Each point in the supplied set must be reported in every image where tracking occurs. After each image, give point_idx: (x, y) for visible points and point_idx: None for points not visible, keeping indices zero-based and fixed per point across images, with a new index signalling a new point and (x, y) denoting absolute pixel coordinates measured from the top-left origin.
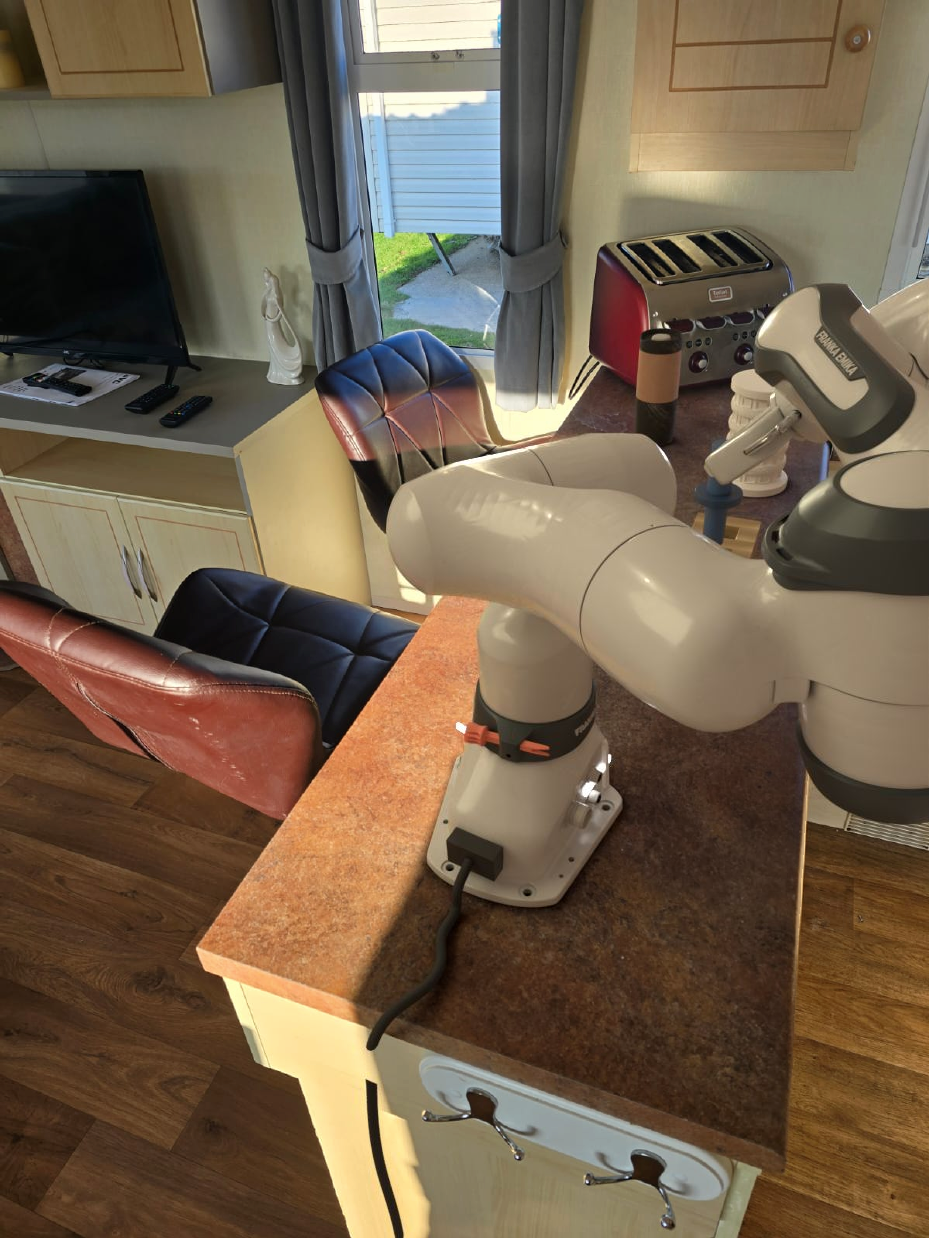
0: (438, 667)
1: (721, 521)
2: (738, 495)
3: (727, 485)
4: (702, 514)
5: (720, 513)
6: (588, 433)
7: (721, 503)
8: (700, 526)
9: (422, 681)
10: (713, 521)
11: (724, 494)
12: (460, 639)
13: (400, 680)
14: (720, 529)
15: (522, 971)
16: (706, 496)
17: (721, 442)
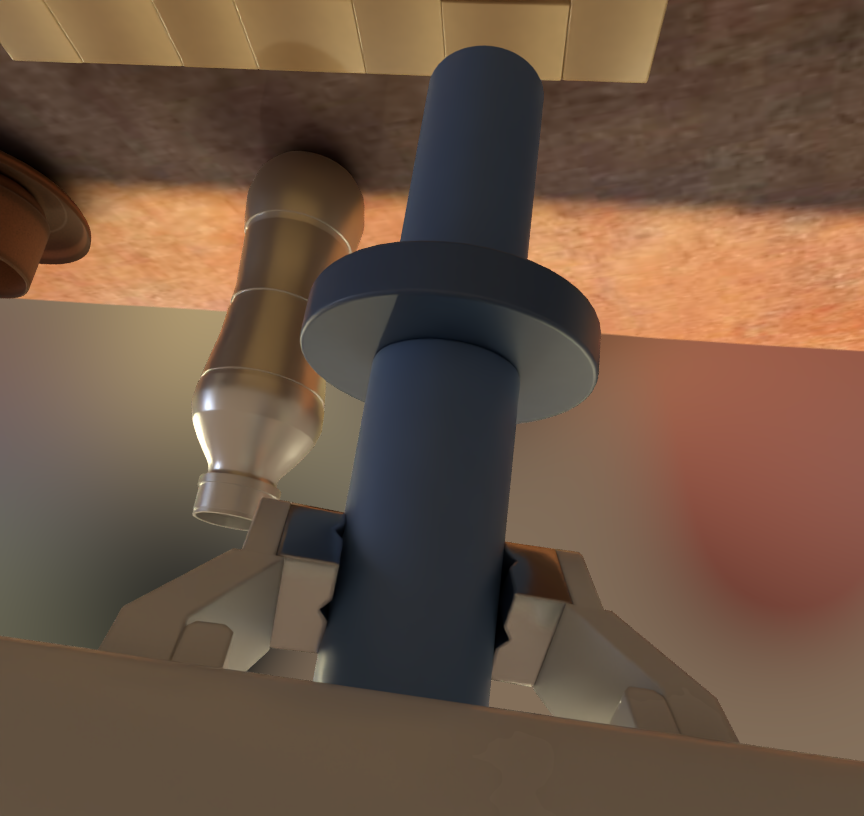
0: (806, 314)
1: (517, 195)
2: (471, 311)
3: (490, 423)
4: (12, 44)
5: (520, 252)
6: (209, 522)
7: (597, 355)
8: (107, 37)
9: (853, 323)
10: (530, 225)
11: (505, 368)
12: (705, 304)
13: (846, 344)
14: (519, 149)
15: None
16: (544, 405)
17: None
